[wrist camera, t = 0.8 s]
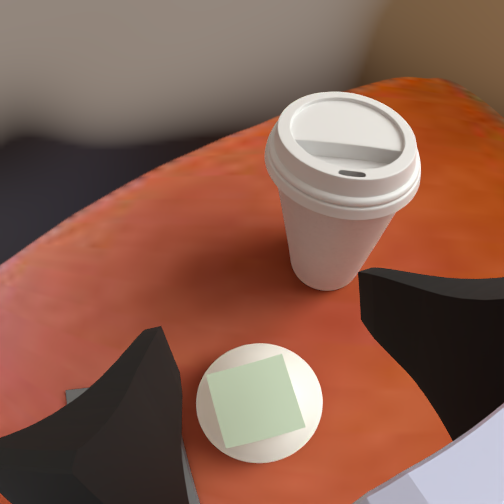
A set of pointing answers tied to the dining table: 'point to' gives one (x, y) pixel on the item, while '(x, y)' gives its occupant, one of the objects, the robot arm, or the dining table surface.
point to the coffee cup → (339, 181)
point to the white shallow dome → (304, 390)
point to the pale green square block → (255, 401)
